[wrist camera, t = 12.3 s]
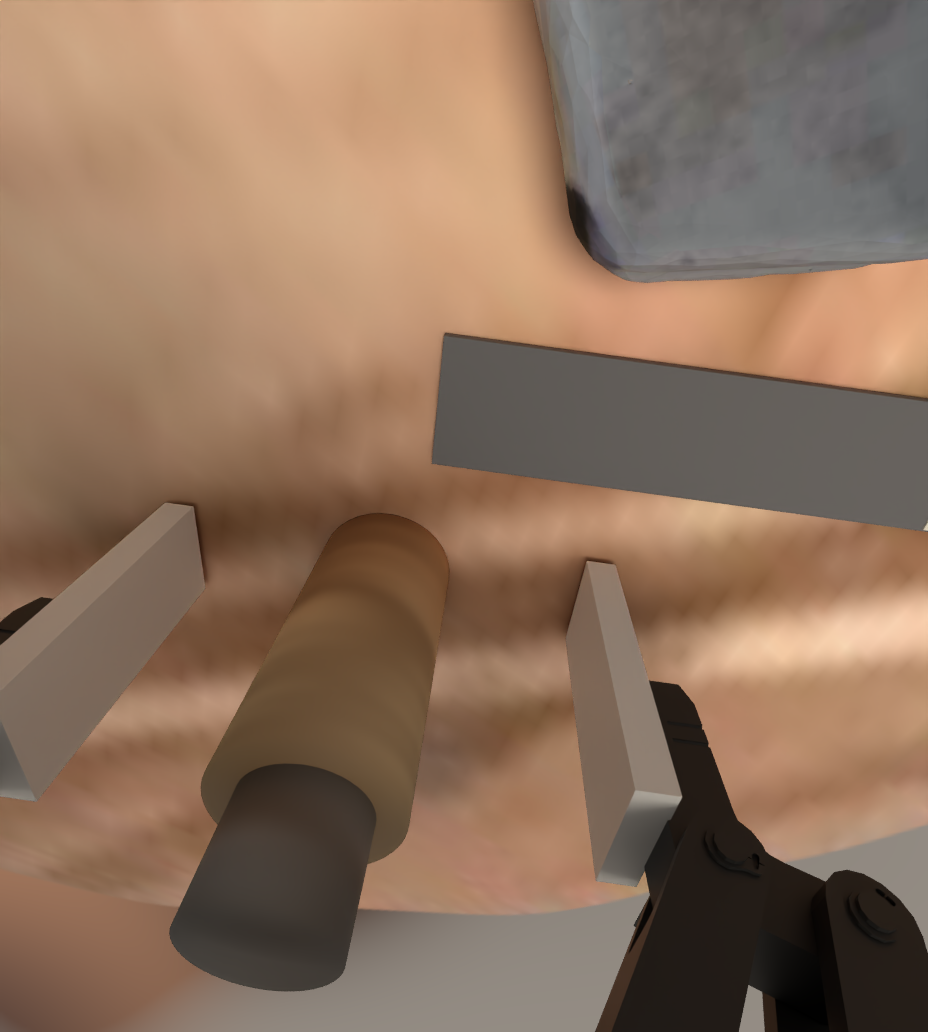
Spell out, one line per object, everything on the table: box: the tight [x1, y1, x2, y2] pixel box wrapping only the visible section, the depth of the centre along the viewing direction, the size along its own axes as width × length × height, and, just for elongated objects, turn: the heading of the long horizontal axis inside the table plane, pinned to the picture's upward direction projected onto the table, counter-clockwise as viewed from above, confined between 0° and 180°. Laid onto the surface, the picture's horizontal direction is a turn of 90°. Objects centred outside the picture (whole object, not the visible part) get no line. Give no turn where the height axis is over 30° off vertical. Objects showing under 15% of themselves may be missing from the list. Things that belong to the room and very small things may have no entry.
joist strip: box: [432, 333, 928, 532], centre depth 13 cm, size 20×3×1 cm, turn 83°
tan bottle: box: [169, 514, 449, 991], centre depth 11 cm, size 4×4×9 cm
